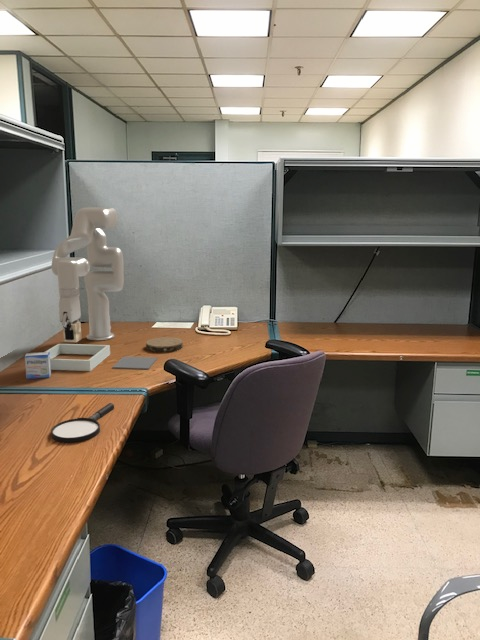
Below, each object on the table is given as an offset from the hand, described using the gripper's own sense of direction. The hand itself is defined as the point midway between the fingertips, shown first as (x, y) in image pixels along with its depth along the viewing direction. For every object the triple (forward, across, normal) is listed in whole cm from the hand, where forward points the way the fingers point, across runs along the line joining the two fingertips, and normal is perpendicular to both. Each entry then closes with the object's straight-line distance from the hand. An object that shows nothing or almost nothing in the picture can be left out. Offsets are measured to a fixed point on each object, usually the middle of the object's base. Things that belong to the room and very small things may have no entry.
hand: (72, 337), depth 193 cm
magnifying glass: (+9, +57, +28) cm, 64 cm away
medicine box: (+10, +20, -5) cm, 22 cm away
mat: (+10, +1, +25) cm, 27 cm away
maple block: (+1, 0, 0) cm, 1 cm away
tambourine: (+11, -23, +31) cm, 40 cm away
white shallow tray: (+10, +1, 0) cm, 10 cm away
